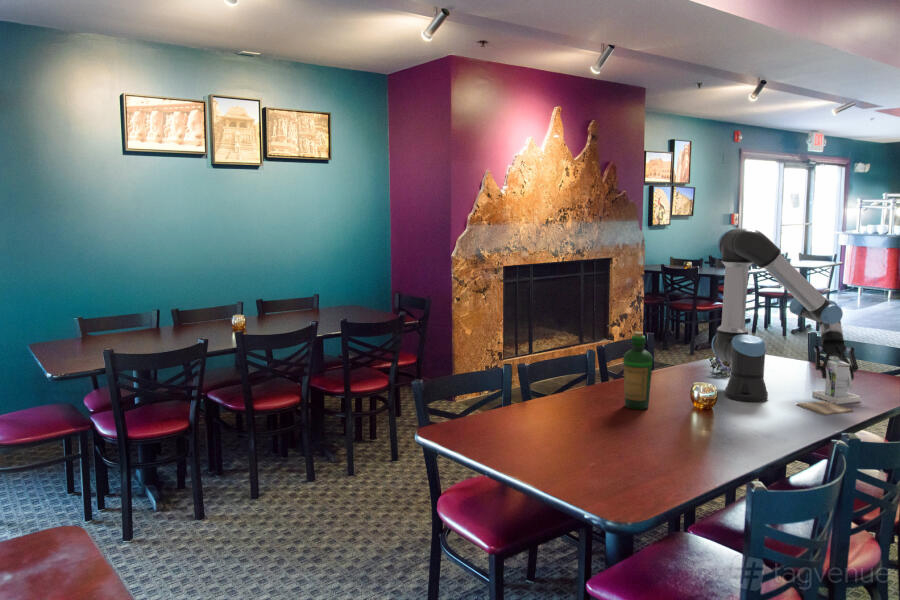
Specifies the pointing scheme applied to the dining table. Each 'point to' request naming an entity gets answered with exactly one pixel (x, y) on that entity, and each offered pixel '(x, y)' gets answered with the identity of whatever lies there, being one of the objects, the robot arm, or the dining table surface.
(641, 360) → the bottle
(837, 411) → the mat
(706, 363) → the dining table surface
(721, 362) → the passion flower
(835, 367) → the syrup box
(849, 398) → the white square frame
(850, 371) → the robot arm
